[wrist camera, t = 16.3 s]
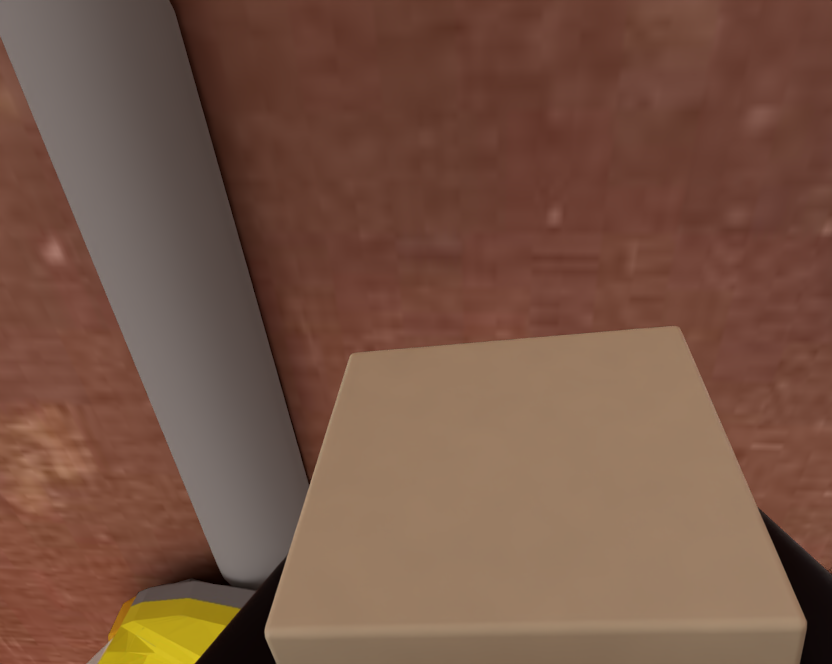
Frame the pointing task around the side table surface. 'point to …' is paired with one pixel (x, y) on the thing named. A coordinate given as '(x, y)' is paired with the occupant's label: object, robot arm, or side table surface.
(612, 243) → the side table surface
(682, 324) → the side table surface
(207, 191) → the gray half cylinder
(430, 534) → the block
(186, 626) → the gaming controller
